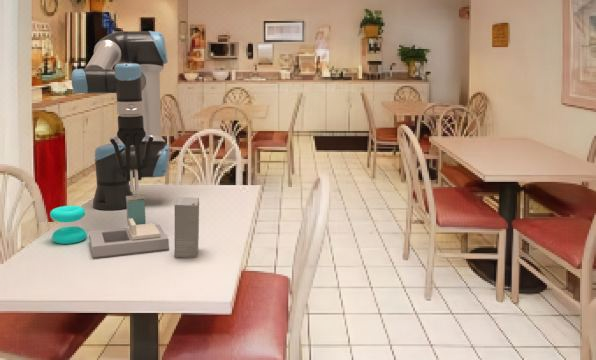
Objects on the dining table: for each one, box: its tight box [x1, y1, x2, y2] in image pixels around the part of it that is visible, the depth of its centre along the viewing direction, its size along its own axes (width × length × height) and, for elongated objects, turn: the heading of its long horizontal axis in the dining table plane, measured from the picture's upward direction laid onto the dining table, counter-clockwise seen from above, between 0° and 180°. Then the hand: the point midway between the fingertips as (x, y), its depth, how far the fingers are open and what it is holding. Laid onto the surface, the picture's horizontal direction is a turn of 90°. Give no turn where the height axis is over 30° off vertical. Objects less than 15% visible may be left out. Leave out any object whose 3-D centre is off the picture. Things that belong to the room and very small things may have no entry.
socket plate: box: [88, 224, 170, 260], centre depth 183 cm, size 16×21×4 cm
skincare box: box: [173, 196, 200, 259], centre depth 176 cm, size 8×7×16 cm
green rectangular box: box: [126, 194, 147, 226], centre depth 195 cm, size 5×5×12 cm
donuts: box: [49, 205, 88, 245], centre depth 189 cm, size 10×10×10 cm
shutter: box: [126, 218, 160, 240], centre depth 184 cm, size 12×8×4 cm, turn 22°
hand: (134, 190), depth 193 cm, fingers closed
